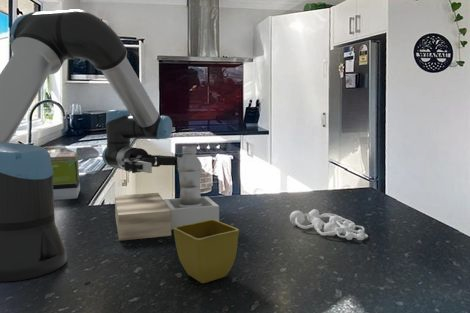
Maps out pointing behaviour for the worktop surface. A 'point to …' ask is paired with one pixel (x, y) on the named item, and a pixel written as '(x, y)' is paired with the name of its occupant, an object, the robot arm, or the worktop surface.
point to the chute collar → (192, 212)
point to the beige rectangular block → (142, 216)
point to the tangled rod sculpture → (328, 224)
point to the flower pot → (206, 249)
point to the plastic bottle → (189, 178)
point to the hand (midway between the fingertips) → (171, 165)
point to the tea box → (65, 175)
